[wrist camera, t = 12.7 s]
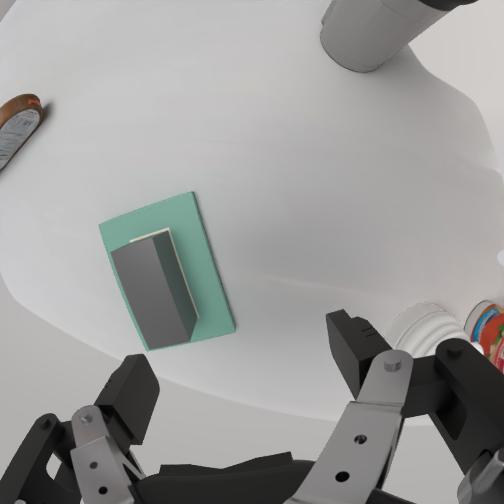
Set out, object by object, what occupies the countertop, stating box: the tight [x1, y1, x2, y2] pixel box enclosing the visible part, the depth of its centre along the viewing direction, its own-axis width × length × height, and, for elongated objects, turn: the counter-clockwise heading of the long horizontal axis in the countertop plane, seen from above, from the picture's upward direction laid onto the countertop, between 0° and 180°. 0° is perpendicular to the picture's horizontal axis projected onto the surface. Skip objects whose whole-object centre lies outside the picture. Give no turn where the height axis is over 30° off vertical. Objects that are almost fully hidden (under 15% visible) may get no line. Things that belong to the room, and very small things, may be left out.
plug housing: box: [110, 230, 198, 350], centre depth 28 cm, size 11×5×6 cm, turn 16°
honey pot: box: [384, 302, 484, 358], centre depth 27 cm, size 13×13×18 cm
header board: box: [99, 192, 235, 352], centre depth 30 cm, size 17×12×5 cm
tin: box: [0, 94, 43, 170], centre depth 23 cm, size 15×3×8 cm, turn 121°
